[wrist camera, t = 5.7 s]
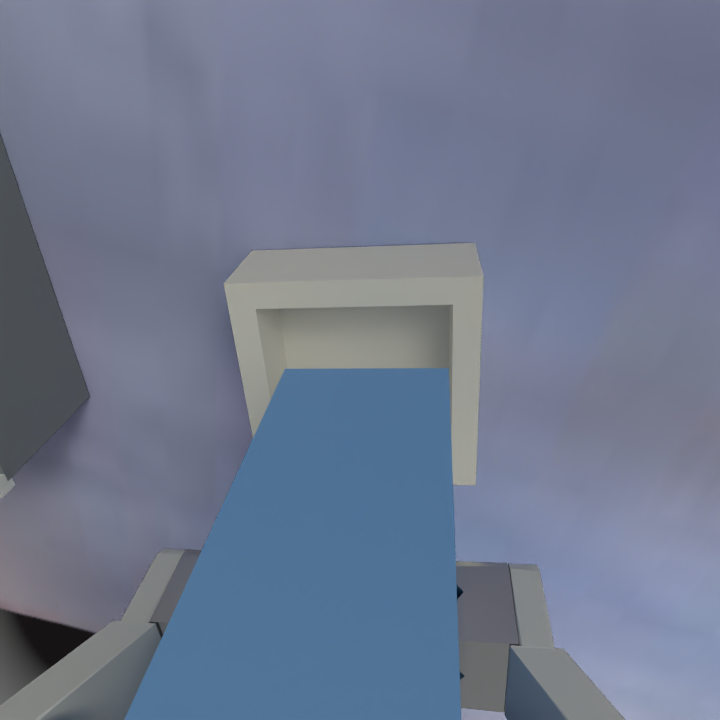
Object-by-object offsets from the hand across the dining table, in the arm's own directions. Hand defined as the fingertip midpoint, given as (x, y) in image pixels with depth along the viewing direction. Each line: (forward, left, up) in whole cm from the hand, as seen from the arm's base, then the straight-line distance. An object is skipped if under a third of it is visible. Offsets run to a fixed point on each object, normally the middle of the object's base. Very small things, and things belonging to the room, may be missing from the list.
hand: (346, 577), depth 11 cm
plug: (0, 0, -5) cm, 4 cm away
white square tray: (+1, 0, -10) cm, 10 cm away
